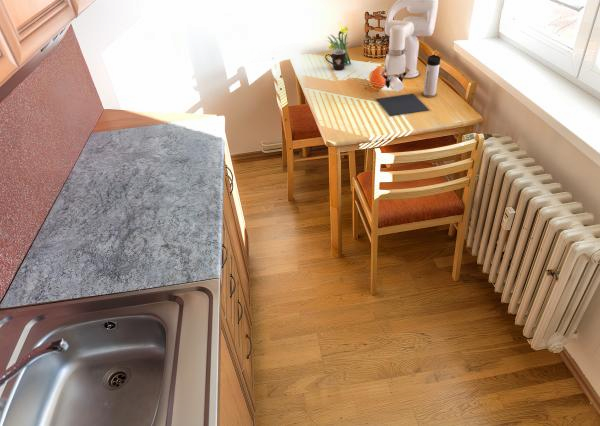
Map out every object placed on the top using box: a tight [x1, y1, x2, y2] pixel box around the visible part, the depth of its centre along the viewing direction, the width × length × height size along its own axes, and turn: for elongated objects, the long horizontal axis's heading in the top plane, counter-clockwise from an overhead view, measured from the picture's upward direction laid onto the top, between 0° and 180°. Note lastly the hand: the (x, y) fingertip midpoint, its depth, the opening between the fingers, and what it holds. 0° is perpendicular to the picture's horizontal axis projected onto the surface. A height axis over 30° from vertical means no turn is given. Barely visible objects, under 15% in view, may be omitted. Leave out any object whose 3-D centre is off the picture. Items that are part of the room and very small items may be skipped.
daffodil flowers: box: [326, 21, 352, 66], centre depth 284 cm, size 17×15×35 cm
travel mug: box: [423, 54, 441, 98], centre depth 230 cm, size 6×7×20 cm
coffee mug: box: [324, 49, 346, 71], centre depth 270 cm, size 12×9×10 cm
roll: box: [389, 75, 405, 92], centre depth 234 cm, size 6×12×6 cm, turn 13°
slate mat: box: [376, 93, 430, 117], centre depth 229 cm, size 20×20×1 cm
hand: (393, 85), depth 236 cm, fingers closed on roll, 6 cm apart
